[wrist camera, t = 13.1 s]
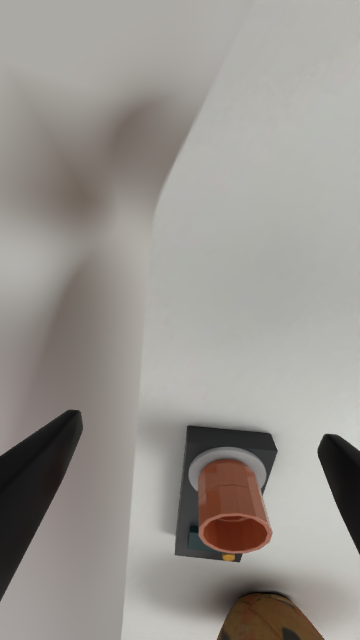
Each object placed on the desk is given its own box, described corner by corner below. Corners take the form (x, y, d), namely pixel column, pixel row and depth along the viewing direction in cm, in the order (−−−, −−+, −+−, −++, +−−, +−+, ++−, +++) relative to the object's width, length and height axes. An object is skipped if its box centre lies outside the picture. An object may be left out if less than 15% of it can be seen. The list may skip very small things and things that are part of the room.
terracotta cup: (187, 483, 22) (186, 540, 18) (216, 448, 20) (222, 504, 16) (235, 501, 23) (245, 560, 19) (268, 470, 21) (287, 528, 16)
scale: (187, 425, 22) (186, 448, 20) (270, 433, 22) (280, 457, 20) (175, 536, 30) (174, 561, 28) (236, 542, 30) (240, 569, 28)
